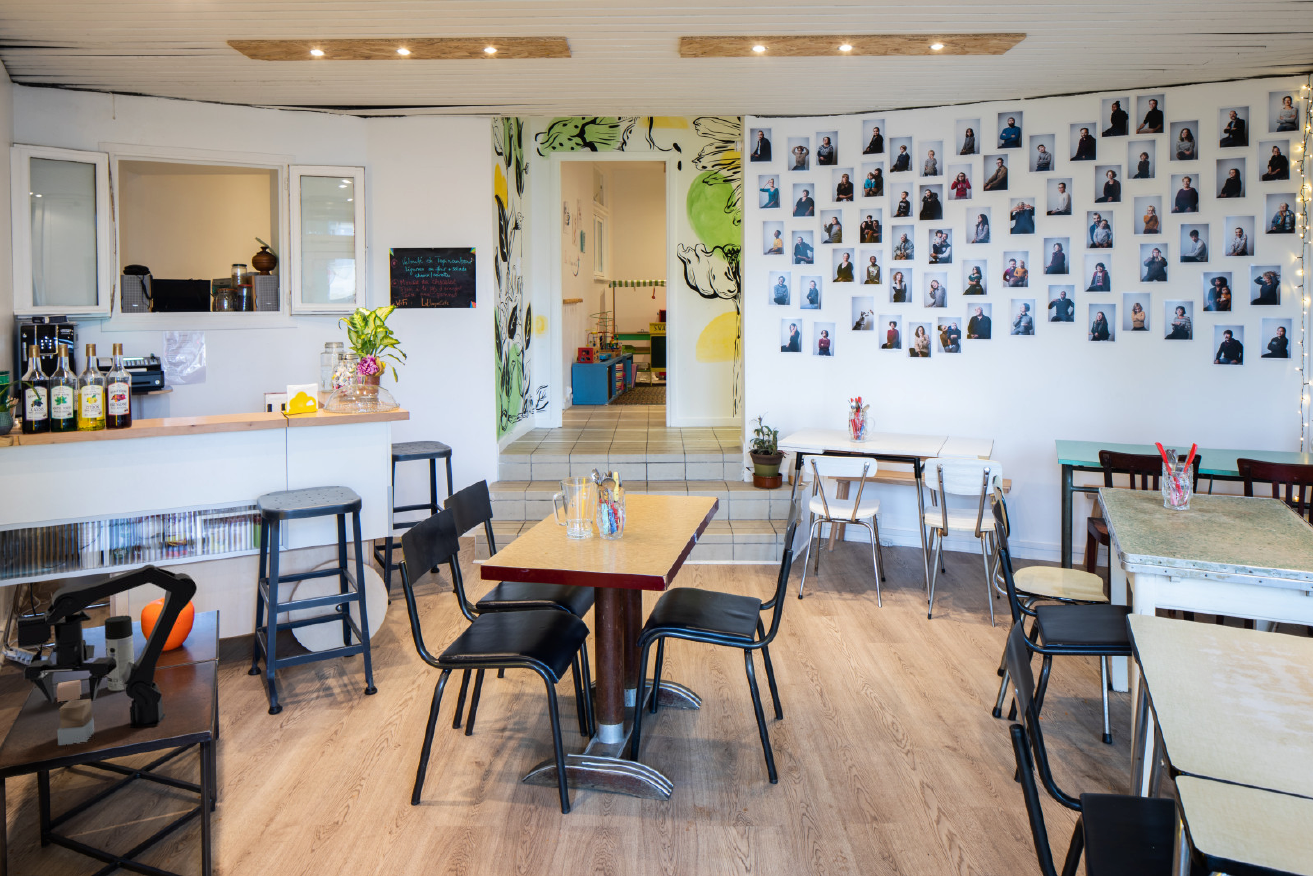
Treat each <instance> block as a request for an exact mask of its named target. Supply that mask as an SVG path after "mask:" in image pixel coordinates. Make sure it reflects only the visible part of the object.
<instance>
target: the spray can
mask: <svg viewBox="0 0 1313 876" xmlns="http://www.w3.org/2000/svg"><path fill="white" fill-rule="evenodd" d="M133 634H134V631H133V619H132V616H130V615H127V614H126V615H116V616H111V617H108V618H106V619H105V620H104V639H105V641H104V642H105V657H113V658H114V659H115V660H116V664H117V667H116V668H115V669H114V670H113V671H111V672H110V673H109V674H108V675H106V678H107V688H108V689H107V690H108V691H110V692H115V691H116V692H125V689H124V687H123V679H122V677H121V676H122V675H123V674H124V672H125V671H126V668H127V664H128V662H131V663H133V664H134V663H135V655H134V635H133Z"/></svg>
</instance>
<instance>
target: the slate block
mask: <svg viewBox="0 0 1313 876" xmlns="http://www.w3.org/2000/svg"><path fill="white" fill-rule="evenodd" d="M94 721H95V720H94V717H92V719H91V720H90V721H89V722H88V723H87V724H86V725H85V726H83V727H73V728H61V726H60V727H58V728H57V730H56V732H57V733H56V734H57V745H58V746H65V745H66V744H67V745H74V744H73V743H77V744H81V743H80V742H86V743H88V741H89V740H90V738H91V737H92V736H93V735H94V733H95V723H94ZM93 732H94V733H93ZM92 734H93V735H92ZM91 735H92V736H91ZM89 737H90V738H89ZM88 739H89V740H88ZM87 740H88V741H87Z"/></svg>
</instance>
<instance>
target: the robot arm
mask: <svg viewBox="0 0 1313 876" xmlns="http://www.w3.org/2000/svg"><path fill="white" fill-rule="evenodd" d="M147 584H152V585H154V586H155V587H159V588H160V589H163V590H165V594H164V601H163V606H162V609H161V611H160V613H159V615H158V617H157V619H156V621H155V623H154V626H153V628H152V630H151V632H150V633H149V634H150V635H149V636H148V638H147V641H146V643H145V645H144V647H143V650H142V651H141V653H140V655H139V658H138V659H137V660H136V661H134V664H133V663H131V662H128V664H127V668H126V671H125V672H124V674H123V675H122V676H121V677H122V679H123V687H124V689H125V690H124V692H125V694H126V696H128V697H129V698H130V699H133V700H131V705H130V706H129V719H130V721H129V722H130V723H131V724H129V728H143V727H144V728H146V727H157V726H158V725H159V724H160V723H161V722H162V721H163V720H164V719H165V718H166V716H167V715H166V714H165V713H164V709H163V708H164V707H163V696H162V692H161V690H160V688H159V685H158V684H157V683H156V682H154V678H155V675H156V674H155V672H156V669H157V668H156V666H157V663H158V660H159V659H160V656H161V654H162V652H163V650H164V648H165V646H166V644H167V641H168V639H169V637H170V634H171V632H172V631H173V628H174V627H175V624H176V622H177V620H178V618H179V615H180V613H181V612H182V611H183V610H184V609H185V608H186V607H187V606H188V605H189V603H190V602H191V600H192V599H193V598H194V596H195V594H196V592H197V590H198V589H197V588H198V587H197V584H196V582H195V581H194V580H193V578H192V577H191V576H190V575H189V574H187V573H186V572H185V573H184V572H183V573H182V572H181V573H179V572H178V573H175V572H172V571H170V570H167V569H163V568H160V567H158V566H156V565H154V564H145V565H144V566H142V567H139V568H136V569H132V570H131V571H127V572H124V573H121V574H117V575H115V576H111V577H109V578H106V579H103V580H99V581H96V582H93V583H88V584H87V583H86V584H75V585H70V586H66V587H65V586H64V587H61V588H59V589H57V590H56V591H55V592H54V594H53V595H52V598H51V603H50V605H49V606H48V608H47V609H46V610H45V612H43V616H35V617H29V618H28V617H26V618H25V617H23V618H18V619H17V621H16V622H17V630H16V636H17V638H16V639H17V648H18V649H23V648H30V647H34V646H35V647H36V646H41V645H46V644H47V642H49V641H50V640H51V639H52V626H53V631H54V633H53V634H54V647H53V648H52V652H53V653H55V660H56V661H55V663H54V664H53V661H52V660H51V659H41V660H40V659H39V660H34V661H33V662H31V663H30V664H28V665H27V666H25V668H23V672H22V673H23V674H22V676H23V680H29V682H30V683H34V684H35V685H36V686H37V687H38V688H39V689H40V691H41V692H42V693H43V695H44V696H45V698H46V699H47V701H48V702H49V703H50V704H53V703H54V702H55V689H54V682H53V677H54V673H66V672H86V671H87V672H89V674H90V676H89V677H88V685H89V688H88V689H89V697H90V699H91V702H94V701H95V700H96V697H97V695H98V692H99V688H100V685H101V682H102V680H103V678H104V677H107V675H108V674H109V673H110V672H111V671H113V670H114V669H115V668H116V667H117V664H116V660H115V659H114V658H113V657H106V656H105V657H104V656H103V657H97V658H96V659H95V660H94V661H93V662H88V660H90V659H93V658H94V656H95V645H93V644H92V645H91V644H87V642H86V639H84V637H83V622H87V621H91V620H92V618H91V615H90V614H89V613H88V612H86V611H85V610H84V609H87V607H90V606H91V605H92V604H94V603H96V602H98V601H100V600H103V599H104V598H105V599H106V598H108V597H110V596H111V597H112V596H114V595H118V594H121V593H123V592H127V591H129V590H132V589H134V588H138V587H141V586H144V585H147ZM162 719H163V720H162Z"/></svg>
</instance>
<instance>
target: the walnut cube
mask: <svg viewBox="0 0 1313 876" xmlns="http://www.w3.org/2000/svg"><path fill="white" fill-rule="evenodd" d="M58 710H59V711H58V712H59V724H60V725H59V726H60V727H61V728H73V727H83V726H85V725H86V724H87V723H88V722H89V721H90V720H91V719H92V718H93V711H92V710H93V709H92V701H91V698H87V699H79V700H69V701H68V702H64V704H63V705H62V706H60V707H59V709H58Z"/></svg>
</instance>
